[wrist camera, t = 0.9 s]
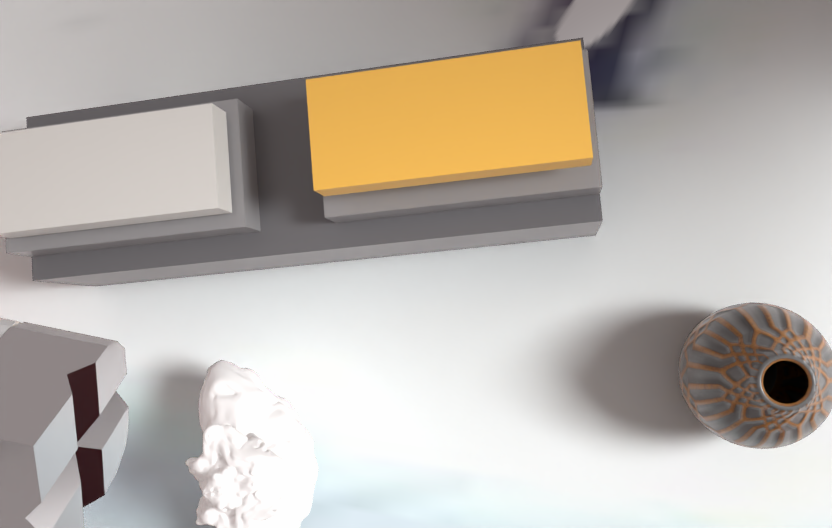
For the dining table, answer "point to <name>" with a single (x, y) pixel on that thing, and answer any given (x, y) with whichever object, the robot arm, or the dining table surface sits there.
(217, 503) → the bust
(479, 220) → the power strip
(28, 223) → the white flat block
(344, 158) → the amber switch
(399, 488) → the dining table surface
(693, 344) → the vase
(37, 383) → the robot arm
